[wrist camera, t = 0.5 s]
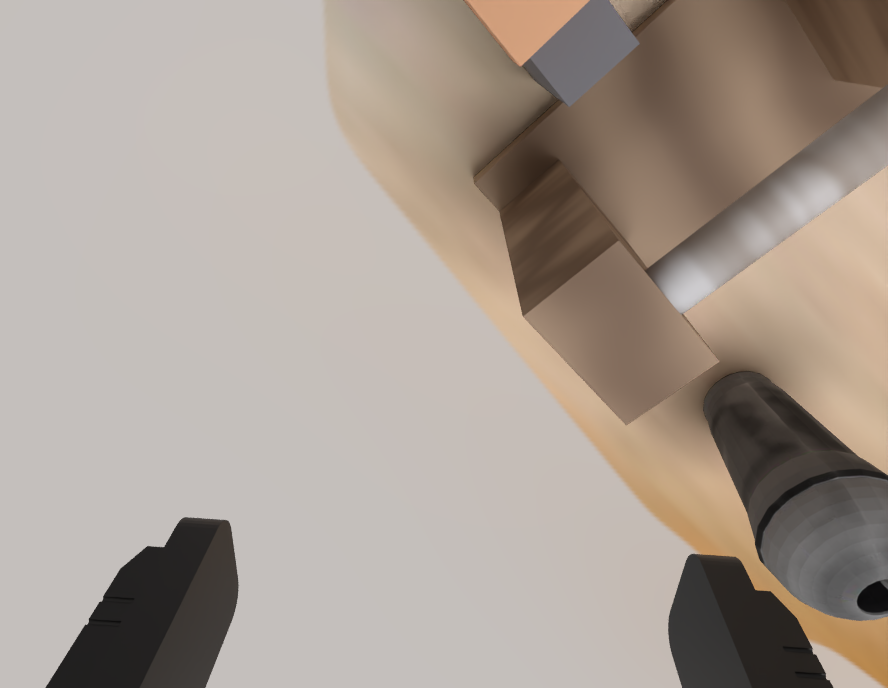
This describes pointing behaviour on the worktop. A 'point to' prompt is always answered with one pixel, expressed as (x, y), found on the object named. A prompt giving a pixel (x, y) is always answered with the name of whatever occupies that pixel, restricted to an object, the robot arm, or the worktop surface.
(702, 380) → the worktop surface
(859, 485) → the beverage cup
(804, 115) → the hook stand
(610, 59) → the peach and grey blocks
